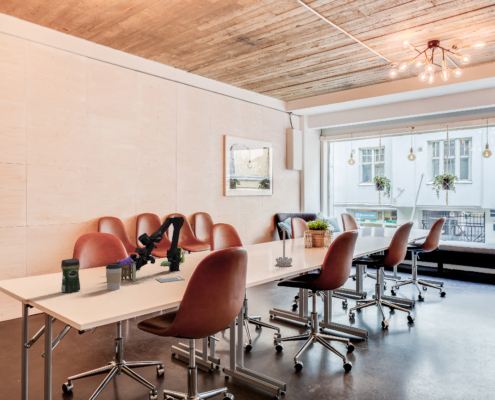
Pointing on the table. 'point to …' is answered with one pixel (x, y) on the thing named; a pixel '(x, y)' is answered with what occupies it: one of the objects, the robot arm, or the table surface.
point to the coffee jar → (70, 275)
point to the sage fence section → (133, 271)
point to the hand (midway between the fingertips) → (135, 269)
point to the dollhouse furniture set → (179, 256)
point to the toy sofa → (126, 261)
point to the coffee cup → (113, 276)
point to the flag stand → (284, 260)
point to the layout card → (170, 279)
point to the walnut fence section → (125, 268)
